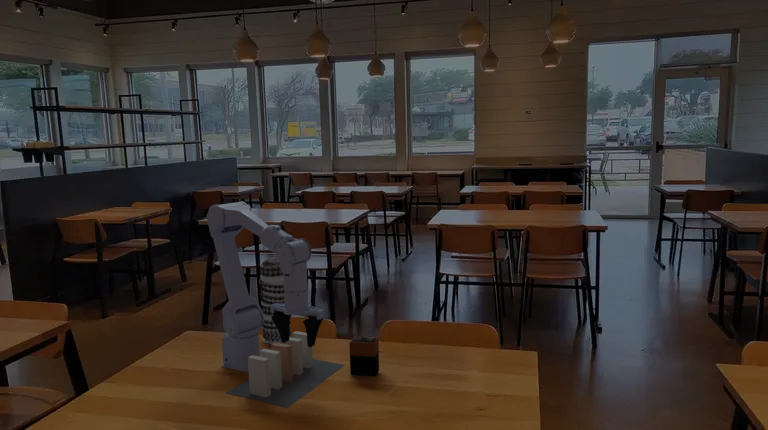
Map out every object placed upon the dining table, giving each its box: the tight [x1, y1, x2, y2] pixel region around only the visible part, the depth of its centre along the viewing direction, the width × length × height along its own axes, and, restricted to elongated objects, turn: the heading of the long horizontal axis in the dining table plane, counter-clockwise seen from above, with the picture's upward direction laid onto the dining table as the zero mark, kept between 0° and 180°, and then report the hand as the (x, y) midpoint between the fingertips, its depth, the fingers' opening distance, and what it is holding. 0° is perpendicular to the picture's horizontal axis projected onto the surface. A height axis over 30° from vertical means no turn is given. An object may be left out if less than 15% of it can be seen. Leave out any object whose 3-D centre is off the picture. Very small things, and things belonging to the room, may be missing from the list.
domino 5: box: [291, 330, 314, 368], centre depth 149 cm, size 2×5×9 cm, turn 64°
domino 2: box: [259, 348, 282, 389], centre depth 137 cm, size 2×5×9 cm, turn 64°
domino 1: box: [248, 355, 271, 397], centre depth 133 cm, size 2×5×9 cm, turn 64°
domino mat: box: [225, 358, 346, 409], centre depth 142 cm, size 18×26×1 cm
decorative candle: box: [258, 257, 292, 345], centre depth 169 cm, size 9×9×25 cm
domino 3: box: [270, 343, 293, 382], centre depth 141 cm, size 2×5×9 cm, turn 64°
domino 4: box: [281, 336, 303, 375], centre depth 145 cm, size 2×5×9 cm, turn 64°
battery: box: [349, 335, 380, 378], centre depth 144 cm, size 4×7×10 cm, turn 79°
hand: (298, 343), depth 138 cm, fingers open, 7 cm apart
